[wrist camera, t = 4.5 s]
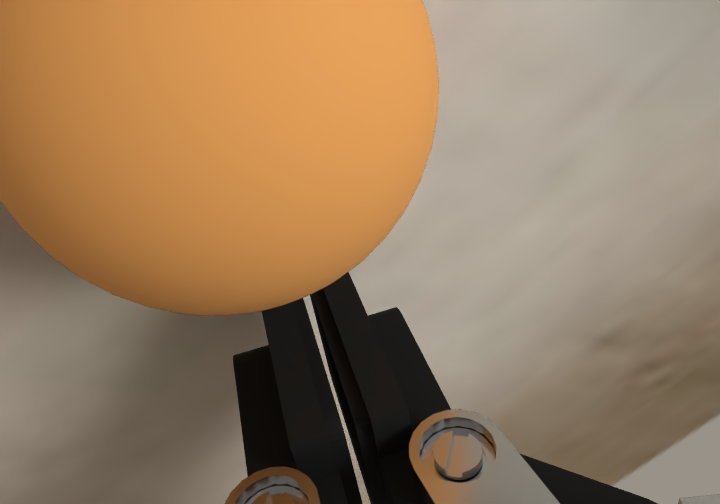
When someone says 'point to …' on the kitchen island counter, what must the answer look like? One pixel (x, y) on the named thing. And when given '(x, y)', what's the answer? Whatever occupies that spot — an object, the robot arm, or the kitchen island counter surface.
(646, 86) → the kitchen island counter surface
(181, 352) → the kitchen island counter surface
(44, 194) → the ball
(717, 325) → the kitchen island counter surface
